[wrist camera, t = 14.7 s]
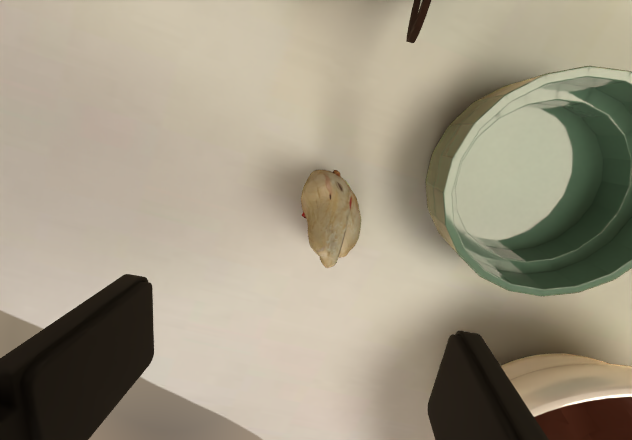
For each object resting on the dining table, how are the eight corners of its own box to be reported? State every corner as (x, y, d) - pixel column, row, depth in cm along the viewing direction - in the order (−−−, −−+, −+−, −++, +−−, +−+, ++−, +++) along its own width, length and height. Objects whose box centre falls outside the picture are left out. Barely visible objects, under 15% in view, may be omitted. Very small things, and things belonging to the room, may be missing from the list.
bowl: (451, 69, 24) (480, 51, 19) (655, 96, 23) (746, 85, 18) (407, 249, 28) (421, 276, 23) (578, 277, 27) (633, 312, 22)
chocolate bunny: (377, 177, 27) (393, 202, 17) (350, 257, 29) (351, 319, 19) (316, 159, 27) (298, 175, 17) (294, 241, 29) (268, 294, 20)
